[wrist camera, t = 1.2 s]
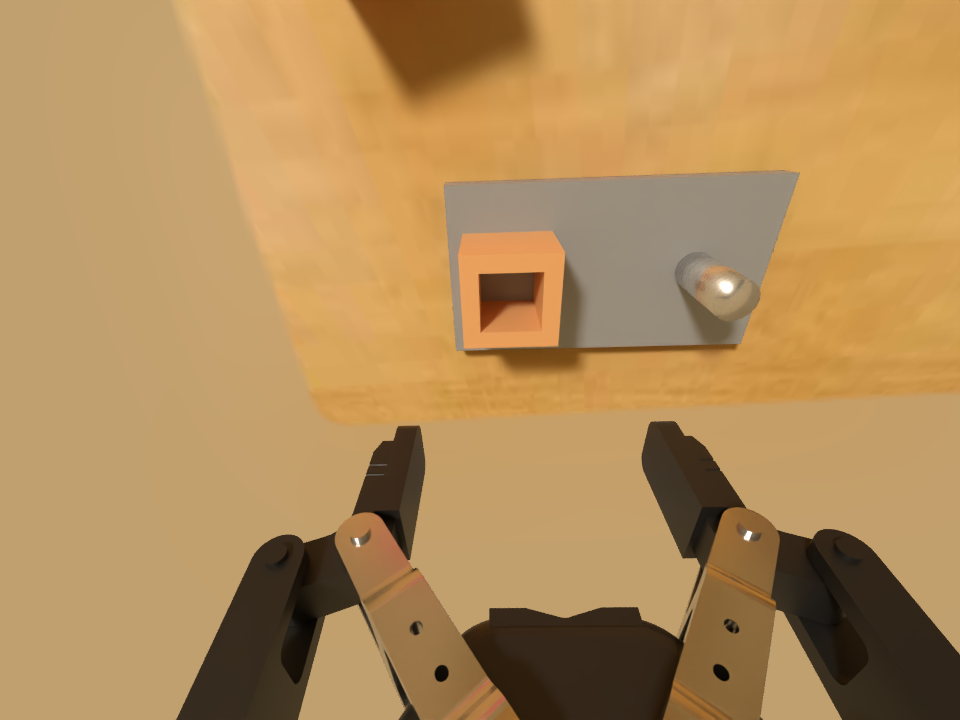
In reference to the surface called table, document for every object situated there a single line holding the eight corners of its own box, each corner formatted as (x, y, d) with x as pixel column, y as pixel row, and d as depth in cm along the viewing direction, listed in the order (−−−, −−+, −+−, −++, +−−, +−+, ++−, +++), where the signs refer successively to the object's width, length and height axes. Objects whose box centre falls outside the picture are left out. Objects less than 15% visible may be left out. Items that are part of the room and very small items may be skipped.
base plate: (445, 182, 26) (443, 185, 25) (784, 170, 26) (799, 173, 25) (457, 341, 33) (456, 350, 31) (730, 334, 32) (740, 343, 31)
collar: (462, 233, 27) (457, 255, 22) (552, 230, 27) (565, 252, 22) (467, 315, 30) (463, 348, 26) (547, 313, 30) (558, 346, 25)
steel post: (670, 246, 28) (719, 280, 22) (707, 245, 28) (766, 278, 22) (663, 281, 30) (707, 321, 24) (698, 280, 30) (752, 320, 24)
